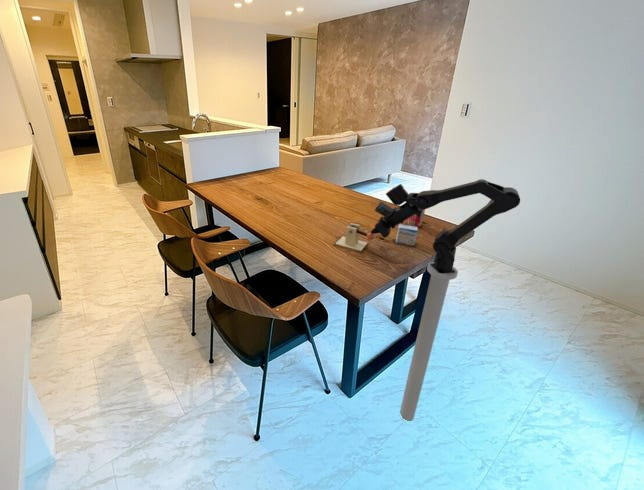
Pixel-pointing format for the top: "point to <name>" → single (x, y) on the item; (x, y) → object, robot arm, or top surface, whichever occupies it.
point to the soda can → (416, 220)
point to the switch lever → (365, 234)
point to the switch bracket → (352, 238)
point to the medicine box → (406, 235)
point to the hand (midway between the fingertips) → (371, 232)
